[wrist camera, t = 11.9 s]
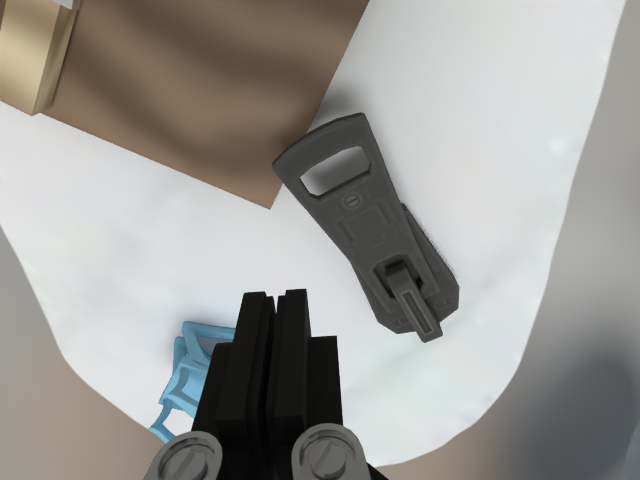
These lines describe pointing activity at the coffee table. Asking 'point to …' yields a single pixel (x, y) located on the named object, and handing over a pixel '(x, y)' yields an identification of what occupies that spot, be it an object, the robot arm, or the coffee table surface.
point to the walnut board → (203, 81)
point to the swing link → (32, 52)
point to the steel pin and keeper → (69, 3)
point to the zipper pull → (374, 230)
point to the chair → (187, 374)
